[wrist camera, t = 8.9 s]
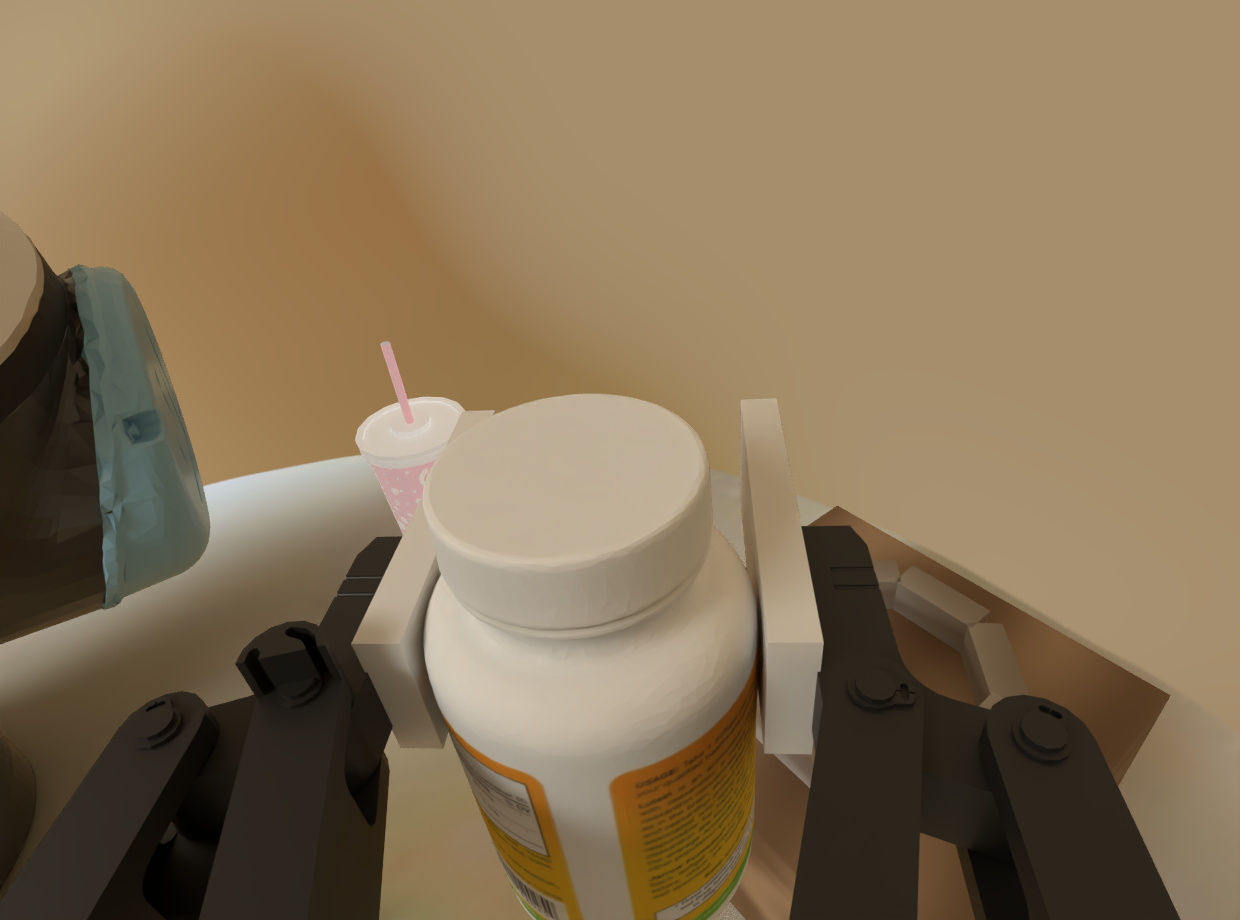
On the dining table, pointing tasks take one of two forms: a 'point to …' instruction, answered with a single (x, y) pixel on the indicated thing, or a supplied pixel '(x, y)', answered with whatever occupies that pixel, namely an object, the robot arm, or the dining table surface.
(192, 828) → the robot arm
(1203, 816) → the dining table surface
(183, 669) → the dining table surface
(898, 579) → the carrier block
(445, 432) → the beverage cup
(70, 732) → the dining table surface
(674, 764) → the supplement bottle
